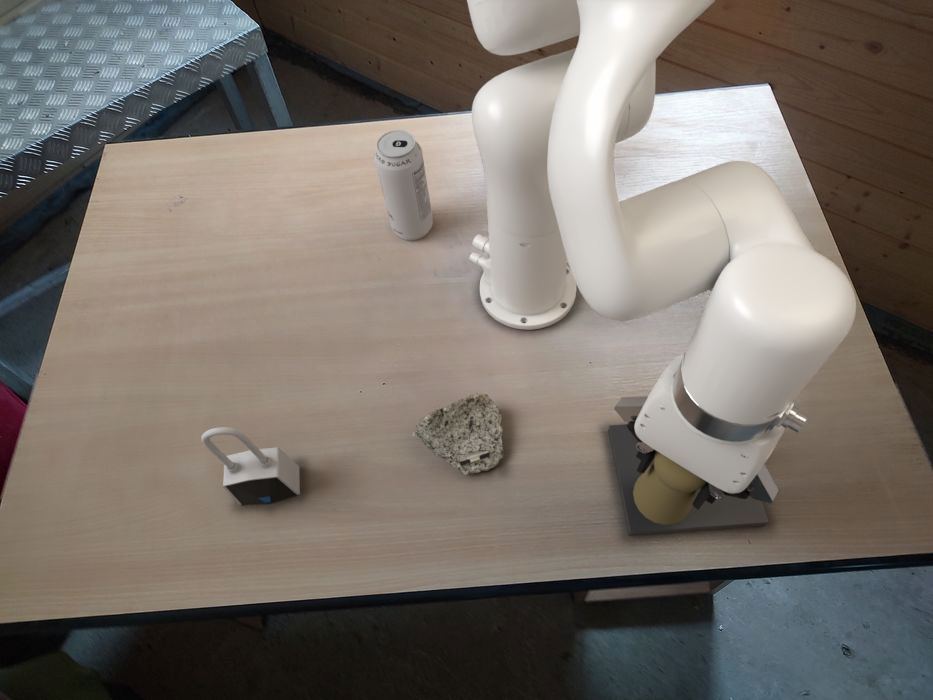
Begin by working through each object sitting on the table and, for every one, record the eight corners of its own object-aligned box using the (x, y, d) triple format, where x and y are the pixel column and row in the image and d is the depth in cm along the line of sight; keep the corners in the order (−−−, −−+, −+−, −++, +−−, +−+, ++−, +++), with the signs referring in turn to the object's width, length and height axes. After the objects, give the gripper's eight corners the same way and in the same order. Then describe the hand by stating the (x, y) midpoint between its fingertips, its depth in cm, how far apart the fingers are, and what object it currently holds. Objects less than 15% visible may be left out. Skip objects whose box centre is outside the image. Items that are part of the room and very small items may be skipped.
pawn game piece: (698, 481, 65) (729, 439, 56) (684, 534, 62) (713, 499, 53) (642, 460, 67) (663, 415, 58) (625, 510, 64) (644, 472, 55)
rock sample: (461, 496, 63) (444, 414, 62) (420, 484, 70) (403, 409, 68) (532, 460, 70) (518, 385, 68) (489, 452, 76) (474, 383, 74)
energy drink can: (396, 211, 91) (377, 126, 78) (436, 213, 90) (424, 127, 77) (388, 242, 88) (366, 158, 75) (429, 244, 87) (415, 160, 74)
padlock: (239, 509, 68) (177, 457, 56) (241, 473, 71) (181, 415, 58) (299, 498, 69) (250, 444, 56) (299, 463, 71) (252, 403, 58)
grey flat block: (628, 536, 64) (632, 528, 62) (607, 426, 71) (610, 415, 68) (764, 526, 64) (775, 517, 61) (730, 417, 70) (738, 405, 68)
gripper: (869, 413, 43) (776, 499, 58) (648, 299, 49) (616, 403, 64) (827, 498, 40) (740, 564, 55) (598, 365, 46) (577, 458, 62)
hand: (674, 477), depth 60 cm, fingers closed on pawn game piece, 5 cm apart
